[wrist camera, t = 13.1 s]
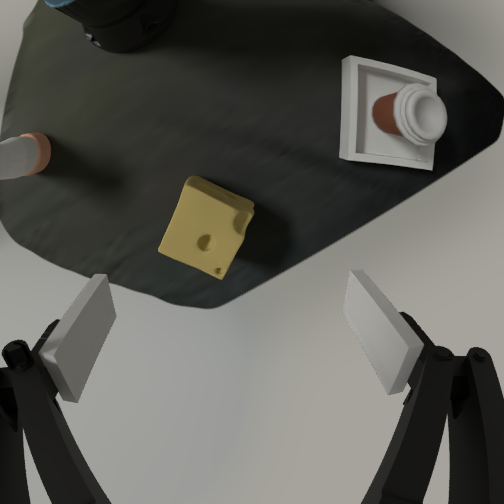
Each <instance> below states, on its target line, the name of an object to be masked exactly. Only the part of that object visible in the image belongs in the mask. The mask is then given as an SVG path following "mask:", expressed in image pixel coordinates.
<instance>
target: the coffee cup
mask: <svg viewBox="0 0 504 504" xmlns="http://www.w3.org/2000/svg"><path fill="white" fill-rule="evenodd" d="M371 118H372V121H373V123H374V125H375V126H376V127H377V128H378V129H379V130H381V131H382V132H385V133H390V134H394V135H397V136H401V137H404V138H405V139H406V140H408V141H409V142H410V143H412V144H414V145H419V146H424V147H425V146H428V145H431V144H434V143H435V142H436V141H437V140H438V139H439V138H440V137H441V135H442V134H443V133H444V130H445V128H446V125H447V113H446V109H445V106H444V104H443V102H442V100H441V99H440V97H439V96H438V95H437V94H436V93H435V92H434V91H433V90H432V89H430V88H429V87H428V86H426V85H423V84H420V83H413V84H408V85H405V86H404V87H403V88H401V89H400V90H399V91H398V92H395V93H392V94H389V95H385V96H382V97H378V98H377V99H376V100H375V101H374V102H373V104H372V106H371Z"/></svg>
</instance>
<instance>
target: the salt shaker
mask: <svg viewBox="0 0 504 504" xmlns="http://www.w3.org/2000/svg"><path fill="white" fill-rule="evenodd" d="M50 156H51V146H50V142H49V140H48V138H47V137H46V136H45V135H44V134H42V133H39V132H37V133H28V134H23V135H21V136H20V137H13V138H9V139H7V140H5V141H2V142H0V180H2V179H12V178H18V177H20V176H22V175H23V176H29V175H32V174H35V173H38V172H40V171H42V170H43V169H44V168H45V167H46V166H47V164H48V163H49V160H50Z"/></svg>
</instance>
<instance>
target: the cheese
mask: <svg viewBox="0 0 504 504" xmlns="http://www.w3.org/2000/svg"><path fill="white" fill-rule="evenodd" d="M253 207H254V203H253V202H252V201H250V200H248V199H246V198H244V197H241V196H239V195H236V194H234V193H232V192H230V191H228V190H226V189H224V188H222V187H220V186H218V185H215V184H213V183H211V182H209V181H207V180H205V179H203V178H201V177H199V176H197V175H196V176H191V177H189V178H188V179H187V181H186V183H185V185H184V188H183V191H182V194H181V197H180V200H179V202H178V205H177V208H176V210H175V213H174V215H173V217H172V219H171V222H170V224H169V226H168V228H167V231H166V233H165V235H164V238H163V240H162V242H161V244H160V247H159V249H158V251H159V252H160V253H162V254H164V255H167V256H169V257H171V258H173V259H176V260H178V261H181V262H183V263H186V264H188V265H191V266H193V267H196V268H198V269H200V270H202V271H204V272H206V273H208V274H210V275H212V276H214V277H216V278H218V279H221V280H222V279H223V277H224V276H225V274H226V272H227V270H228V268H229V266H230V264H231V262H232V260H233V258H234V257H235V255H236V253H237V251H238V249H239V248H240V246H241V244H242V243H243V240H244V238H245V231H246V228H247V226H248V224H249V222H250V220H251V219H252V217H253V215H254V210H253Z"/></svg>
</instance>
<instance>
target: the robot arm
mask: <svg viewBox="0 0 504 504" xmlns="http://www.w3.org/2000/svg"><path fill="white" fill-rule="evenodd" d="M44 1H45V2H46V4H47V5H49V6H50V7H53V8H55V9H57V10H59V11H61V12H63V13H64V14H66V15H68V16H70V17H72V18H73V19H75V20H77V21H79V22H80V23H82V26H83V29H84V32H85V34H86V36H87V38H88V39H89V40H90V42H91V43H93V44H94V45H95V46H97V47H99V48H101V49H103V50H105V51H108V52H115V53H121V52H128V51H132V50H135V49H138V48H141V47H143V46H145V45H147V44H148V43H150V42H151V41H153V40H154V39H156V38H157V37H158V36H159V35H160V34H161V33H162V32H163V31H164V30H165V29H166V28H167V26H168V25H169V23H170V22H171V20H172V18H173V16H174V13H175V9H176V0H44ZM343 314H344V316H345V318H346V319H347V321H348V323H349V325H350V326H351V328H352V330H353V332H354V333H355V335H356V337H357V339H358V340H359V342H360V344H361V346H362V348H363V349H364V351H365V353H366V355H367V357H368V358H369V360H370V362H371V364H372V366H373V368H374V369H375V371H376V373H377V375H378V377H379V379H380V381H381V382H382V384H383V386H384V388H385V390H386V392H387V394H388V395H391V394H395V393H399V392H402V391H403V390H404V388H405V386H406V384H407V382H408V384H409V386H410V387H411V389H410V391H409V393H408V395H407V397H406V399H405V401H404V403H403V405H404V408H403V411H402V413H401V416H400V419H399V422H398V424H397V427H396V430H395V432H394V435H393V437H392V440H391V442H390V444H389V447H388V449H387V451H386V454H385V456H384V458H383V460H382V463H381V465H380V467H379V469H378V471H377V473H376V475H375V477H374V479H373V481H372V484H371V485H370V487H369V489H368V491H367V494H366V495H365V497H364V499H363V501H362V502H361V504H423V499H424V496H425V493H426V491H427V488H428V485H429V482H430V479H431V476H432V472H433V469H434V465H435V462H436V459H437V455H438V451H439V447H440V444H441V440H442V435H443V431H444V427H445V422H446V417H447V415H448V428H449V450H450V480H449V502H448V504H504V398H503V394H502V391H501V387H500V383H499V380H498V377H497V373H496V370H495V367H494V364H493V361H492V358H491V356H490V354H489V353H488V352H487V351H486V350H484V349H482V348H479V347H473V348H471V349H470V350H469V351H468V353H467V355H466V356H454V354H452V352H451V351H450V350H449V349H447V348H445V347H442V346H435V345H434V343H433V342H432V341H431V340H430V338H429V337H428V336H427V335H426V334H425V332H424V331H423V330H421V327H420V326H419V325H417V323H416V321H415V320H414V319H413V318H412V317H411V316H409V315H408V314H406V313H404V312H398V311H397V310H396V308H395V307H394V306H393V305H392V304H391V302H390V301H389V300H388V299H387V298H386V296H385V295H384V294H383V293H382V292H381V291H380V289H379V288H378V287H377V286H376V285H375V283H374V282H373V281H372V280H371V279H370V278H369V276H368V275H367V274H366V273H365V272H364V271H363V270H350V274H349V280H348V286H347V291H346V297H345V301H344V307H343ZM115 319H116V313H115V309H114V305H113V301H112V296H111V292H110V287H109V282H108V278H107V274H94V276H93V277H92V278H91V279H90V281H89V282H88V283H87V285H86V286H85V287H84V289H83V290H82V291H81V292H80V294H79V295H78V297H77V298H76V299H75V301H74V302H73V303H72V305H71V306H70V307H69V309H68V310H67V312H66V313H65V314H64V316H63V317H62V319H61V320H58V319H57V320H55V321H54V322H52V323H51V324H50V325H49V326H48V327H47V329H46V330H45V332H44V333H43V334H42V336H41V339H39V340H38V342H37V343H36V345H35V346H34V348H33V349H32V351H30V349H29V347H28V345H27V343H26V342H25V341H23V340H15V341H12V342H10V343H8V344H7V345H6V346H5V347H4V349H3V350H2V356H3V358H4V360H5V362H6V364H7V366H8V367H3V368H0V504H30V497H29V491H28V485H27V478H26V469H25V459H24V447H23V429H24V433H25V436H26V439H27V442H28V445H29V448H30V451H31V454H32V457H33V459H34V463H35V465H36V468H37V470H38V473H39V475H40V478H41V480H42V483H43V485H44V487H45V489H46V492H47V494H48V496H49V498H50V501H51V503H52V504H111V502H110V501H109V499H108V498H107V496H106V494H105V493H104V491H103V490H102V488H101V487H100V485H99V483H98V482H97V480H96V478H95V477H94V475H93V473H92V472H91V470H90V468H89V466H88V464H87V463H86V461H85V459H84V457H83V455H82V453H81V451H80V449H79V448H78V446H77V444H76V442H75V440H74V438H73V436H72V434H71V431H70V429H69V427H68V425H67V423H66V420H65V418H64V416H63V414H62V411H61V409H60V406H59V404H58V402H57V400H56V398H55V397H56V395H57V393H58V392H59V394H60V395H61V397H62V399H63V400H65V401H69V402H75V403H78V401H79V398H80V396H81V394H82V391H83V389H84V386H85V384H86V382H87V379H88V377H89V375H90V372H91V370H92V368H93V365H94V363H95V361H96V359H97V356H98V354H99V352H100V350H101V348H102V346H103V343H104V341H105V339H106V337H107V335H108V333H109V331H110V329H111V327H112V325H113V323H114V321H115Z"/></svg>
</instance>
